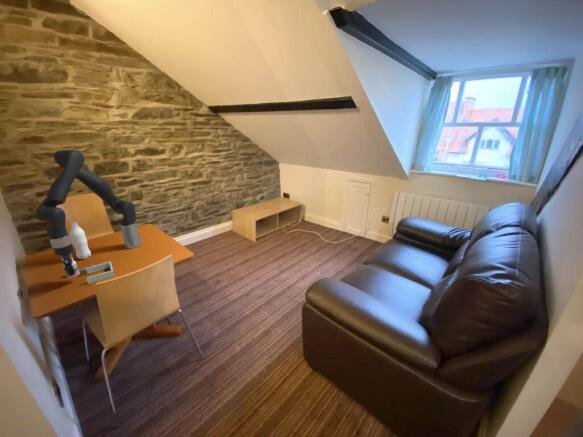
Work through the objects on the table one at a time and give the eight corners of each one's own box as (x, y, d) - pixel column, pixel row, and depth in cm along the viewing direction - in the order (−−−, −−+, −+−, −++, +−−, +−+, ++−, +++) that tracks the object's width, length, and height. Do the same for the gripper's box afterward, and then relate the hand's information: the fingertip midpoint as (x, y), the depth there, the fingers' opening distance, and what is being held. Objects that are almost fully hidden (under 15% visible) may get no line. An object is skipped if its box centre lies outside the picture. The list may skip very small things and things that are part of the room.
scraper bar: (94, 267, 146) (92, 262, 145) (94, 271, 141) (93, 267, 140) (66, 274, 138) (64, 270, 137) (65, 279, 134) (64, 274, 133)
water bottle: (83, 260, 151) (71, 224, 142) (74, 259, 153) (62, 223, 144) (94, 255, 158) (83, 220, 149) (85, 254, 159) (74, 218, 150)
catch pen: (112, 266, 146) (110, 261, 145) (114, 275, 137) (113, 270, 136) (87, 273, 139) (85, 268, 138) (88, 283, 130) (86, 278, 129)
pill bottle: (66, 275, 130) (60, 259, 127) (78, 270, 134) (73, 255, 131) (68, 279, 127) (62, 263, 123) (81, 274, 131) (75, 259, 127)
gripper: (71, 247, 121) (81, 275, 127) (71, 237, 131) (81, 263, 137) (51, 251, 116) (63, 280, 123) (52, 241, 126) (63, 268, 133)
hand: (72, 271), depth 130 cm, fingers closed on pill bottle, 5 cm apart
